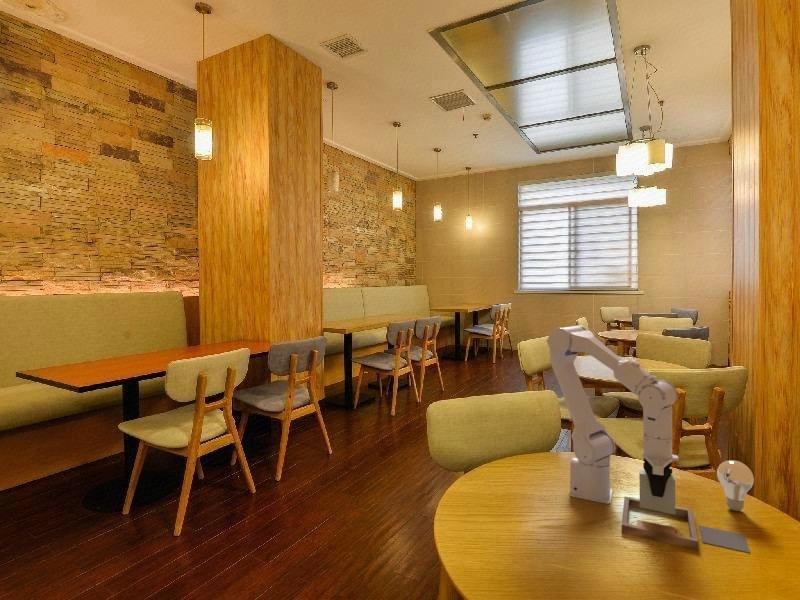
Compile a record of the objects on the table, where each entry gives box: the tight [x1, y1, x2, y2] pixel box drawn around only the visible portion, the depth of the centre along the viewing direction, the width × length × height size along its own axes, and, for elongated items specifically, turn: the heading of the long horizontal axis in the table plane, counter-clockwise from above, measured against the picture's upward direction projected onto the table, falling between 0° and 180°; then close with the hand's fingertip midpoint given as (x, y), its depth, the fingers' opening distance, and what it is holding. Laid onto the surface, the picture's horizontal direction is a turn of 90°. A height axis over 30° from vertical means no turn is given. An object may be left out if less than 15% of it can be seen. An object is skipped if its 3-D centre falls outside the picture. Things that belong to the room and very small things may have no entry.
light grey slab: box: [638, 469, 676, 514], centre depth 101 cm, size 7×2×8 cm, turn 61°
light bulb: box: [716, 459, 755, 513], centre depth 105 cm, size 7×7×12 cm
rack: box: [621, 496, 699, 551], centre depth 100 cm, size 14×14×2 cm
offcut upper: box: [636, 519, 676, 534], centre depth 97 cm, size 7×3×1 cm, turn 62°
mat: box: [698, 525, 751, 554], centre depth 94 cm, size 8×7×1 cm
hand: (657, 493), depth 101 cm, fingers closed on light grey slab, 2 cm apart
